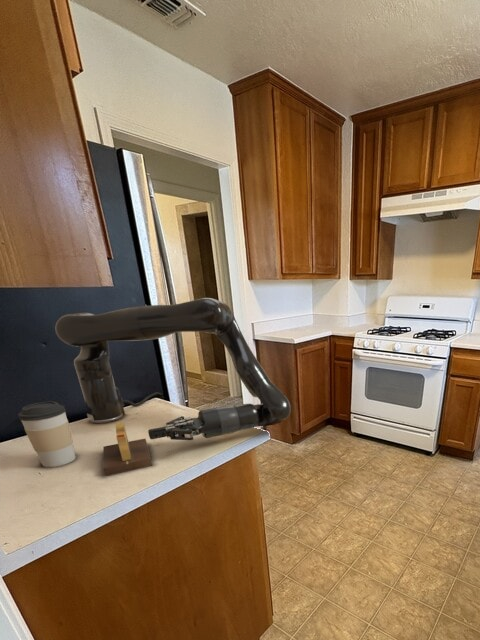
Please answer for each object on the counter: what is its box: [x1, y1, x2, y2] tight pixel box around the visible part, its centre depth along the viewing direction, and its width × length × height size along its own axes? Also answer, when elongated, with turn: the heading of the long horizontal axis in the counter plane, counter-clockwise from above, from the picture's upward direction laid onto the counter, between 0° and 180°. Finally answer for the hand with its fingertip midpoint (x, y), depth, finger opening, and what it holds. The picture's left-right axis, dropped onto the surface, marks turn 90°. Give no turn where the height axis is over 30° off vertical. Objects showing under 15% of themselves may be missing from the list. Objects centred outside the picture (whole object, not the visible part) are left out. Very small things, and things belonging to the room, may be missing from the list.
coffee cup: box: [17, 401, 76, 468], centre depth 86 cm, size 9×9×15 cm
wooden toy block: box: [115, 422, 131, 461], centre depth 87 cm, size 11×2×6 cm, turn 30°
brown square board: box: [90, 438, 160, 477], centre depth 89 cm, size 15×15×2 cm
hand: (149, 434), depth 87 cm, fingers closed
